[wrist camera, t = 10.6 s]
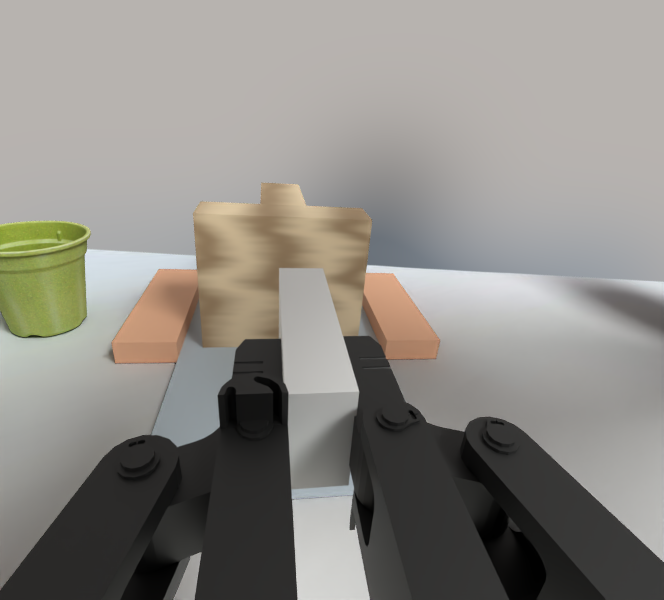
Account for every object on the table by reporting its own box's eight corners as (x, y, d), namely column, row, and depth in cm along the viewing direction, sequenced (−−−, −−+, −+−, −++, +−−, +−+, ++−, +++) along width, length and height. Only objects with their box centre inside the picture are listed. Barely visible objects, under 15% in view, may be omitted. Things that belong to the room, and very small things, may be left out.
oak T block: (334, 285, 51) (343, 186, 46) (357, 345, 39) (372, 220, 33) (218, 283, 49) (213, 180, 44) (202, 347, 36) (193, 213, 31)
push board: (386, 281, 54) (388, 267, 53) (516, 484, 26) (525, 461, 25) (164, 278, 50) (162, 262, 49) (26, 516, 21) (16, 490, 21)
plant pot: (-32, 324, 38) (-64, 233, 34) (74, 293, 45) (58, 214, 41) (15, 362, 33) (-16, 261, 29) (125, 320, 40) (111, 235, 37)
